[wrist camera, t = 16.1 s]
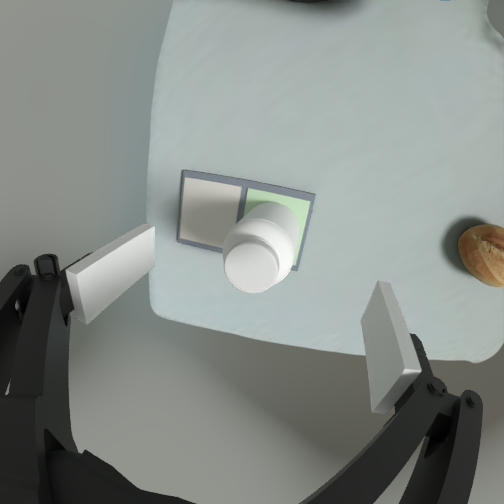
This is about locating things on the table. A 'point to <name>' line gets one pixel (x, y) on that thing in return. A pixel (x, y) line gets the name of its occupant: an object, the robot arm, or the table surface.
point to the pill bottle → (261, 247)
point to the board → (232, 208)
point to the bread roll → (484, 253)
